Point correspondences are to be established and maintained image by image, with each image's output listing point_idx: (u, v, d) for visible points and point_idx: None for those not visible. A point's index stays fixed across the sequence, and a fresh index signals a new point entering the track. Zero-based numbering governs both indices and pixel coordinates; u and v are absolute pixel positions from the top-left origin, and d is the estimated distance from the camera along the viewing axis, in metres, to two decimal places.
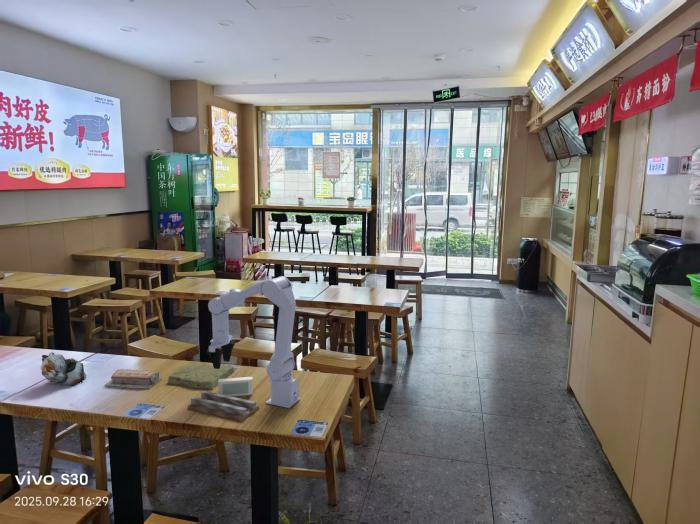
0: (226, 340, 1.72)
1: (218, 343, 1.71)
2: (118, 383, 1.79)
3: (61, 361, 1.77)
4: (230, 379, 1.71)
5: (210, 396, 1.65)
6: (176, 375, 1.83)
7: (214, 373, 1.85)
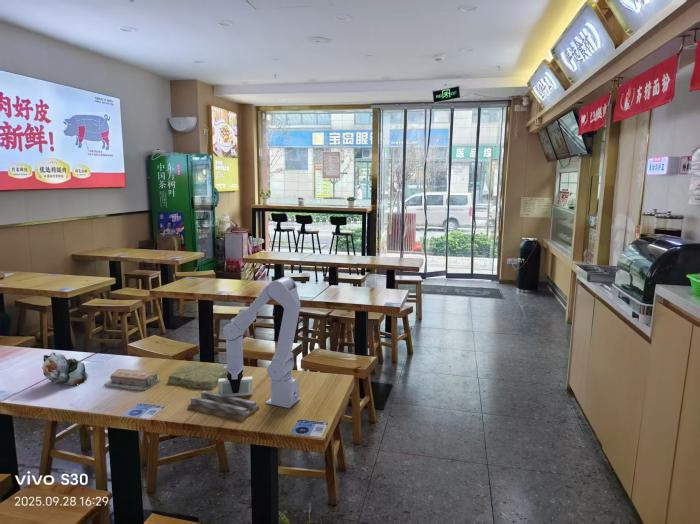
0: (242, 365, 1.70)
1: (236, 369, 1.68)
2: (116, 383, 1.79)
3: (63, 361, 1.77)
4: None
5: (210, 396, 1.65)
6: (176, 375, 1.83)
7: (214, 373, 1.85)
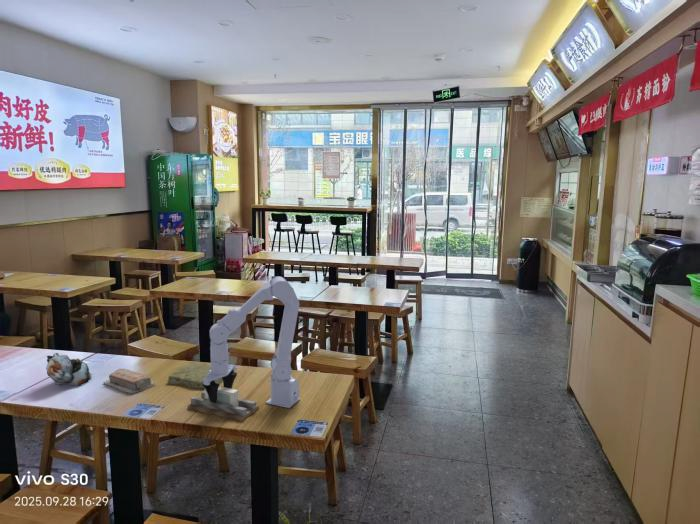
0: (224, 372, 1.58)
1: (215, 375, 1.57)
2: (113, 383, 1.79)
3: (67, 361, 1.77)
4: None
5: None
6: (176, 375, 1.83)
7: None
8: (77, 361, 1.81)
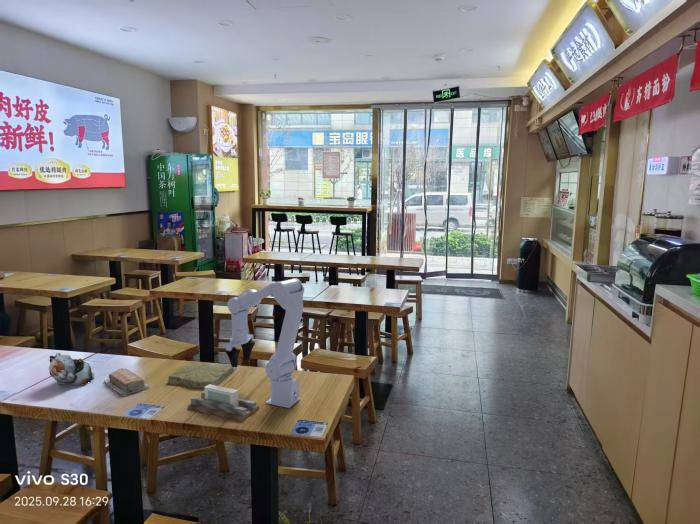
0: (244, 339, 1.74)
1: (236, 342, 1.73)
2: (111, 382, 1.79)
3: (70, 361, 1.77)
4: (217, 387, 1.61)
5: None
6: (176, 375, 1.83)
7: (214, 373, 1.85)
8: (80, 361, 1.81)
